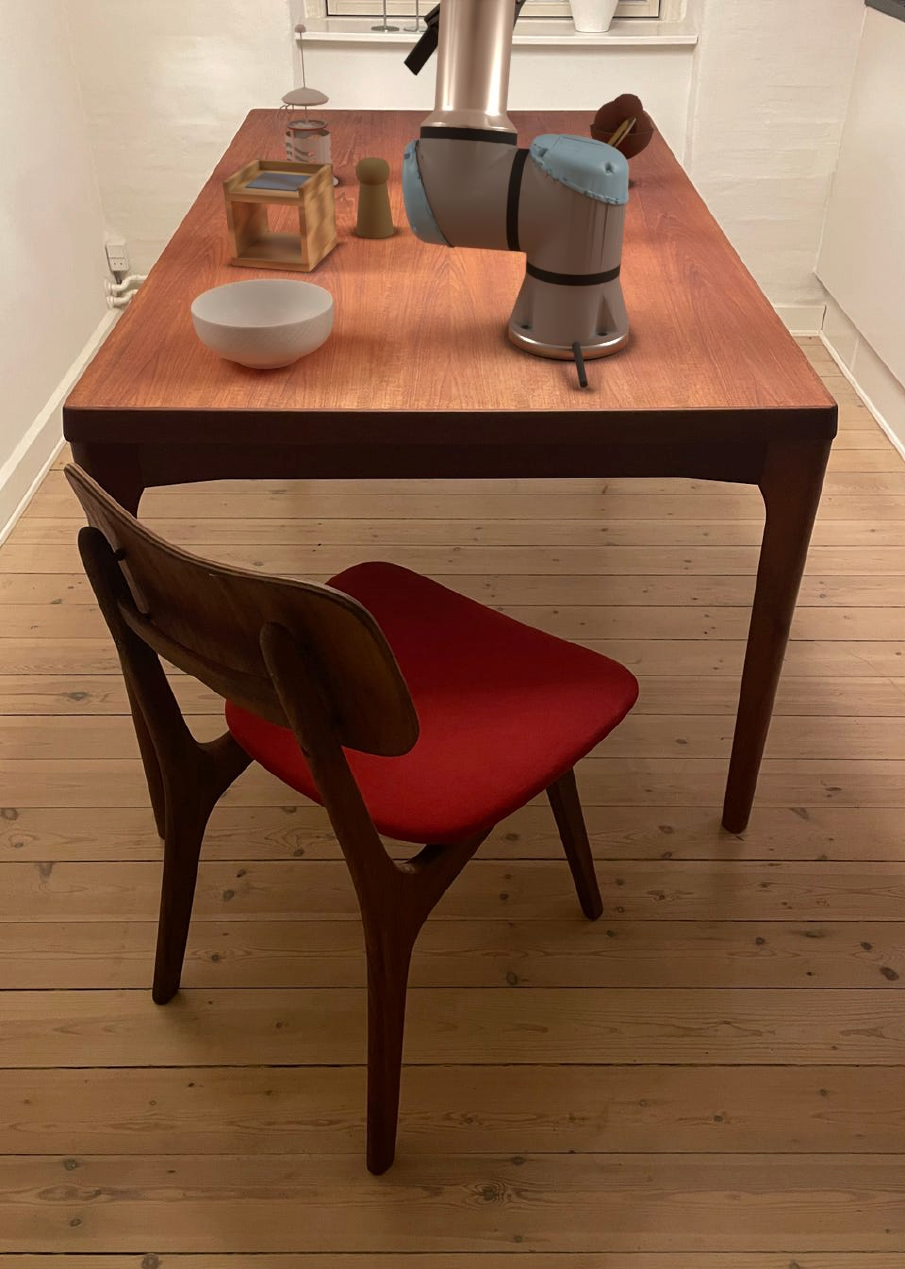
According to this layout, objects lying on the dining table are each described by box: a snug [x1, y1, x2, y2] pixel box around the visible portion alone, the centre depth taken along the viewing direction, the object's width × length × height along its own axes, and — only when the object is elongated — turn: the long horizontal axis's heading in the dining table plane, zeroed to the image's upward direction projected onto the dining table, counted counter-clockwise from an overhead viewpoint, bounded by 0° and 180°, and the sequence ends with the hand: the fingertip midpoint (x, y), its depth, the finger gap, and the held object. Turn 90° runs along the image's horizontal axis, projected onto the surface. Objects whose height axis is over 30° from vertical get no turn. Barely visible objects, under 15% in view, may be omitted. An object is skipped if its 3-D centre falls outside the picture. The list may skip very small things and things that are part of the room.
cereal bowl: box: [190, 278, 335, 370], centre depth 135 cm, size 17×17×7 cm
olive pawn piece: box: [355, 156, 395, 239], centre depth 173 cm, size 6×6×11 cm
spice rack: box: [222, 157, 338, 273], centre depth 164 cm, size 13×12×12 cm
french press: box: [275, 23, 339, 186], centre depth 192 cm, size 10×12×25 cm
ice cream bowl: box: [589, 93, 655, 188], centre depth 194 cm, size 11×11×15 cm
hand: (432, 77), depth 168 cm, fingers open, 13 cm apart
